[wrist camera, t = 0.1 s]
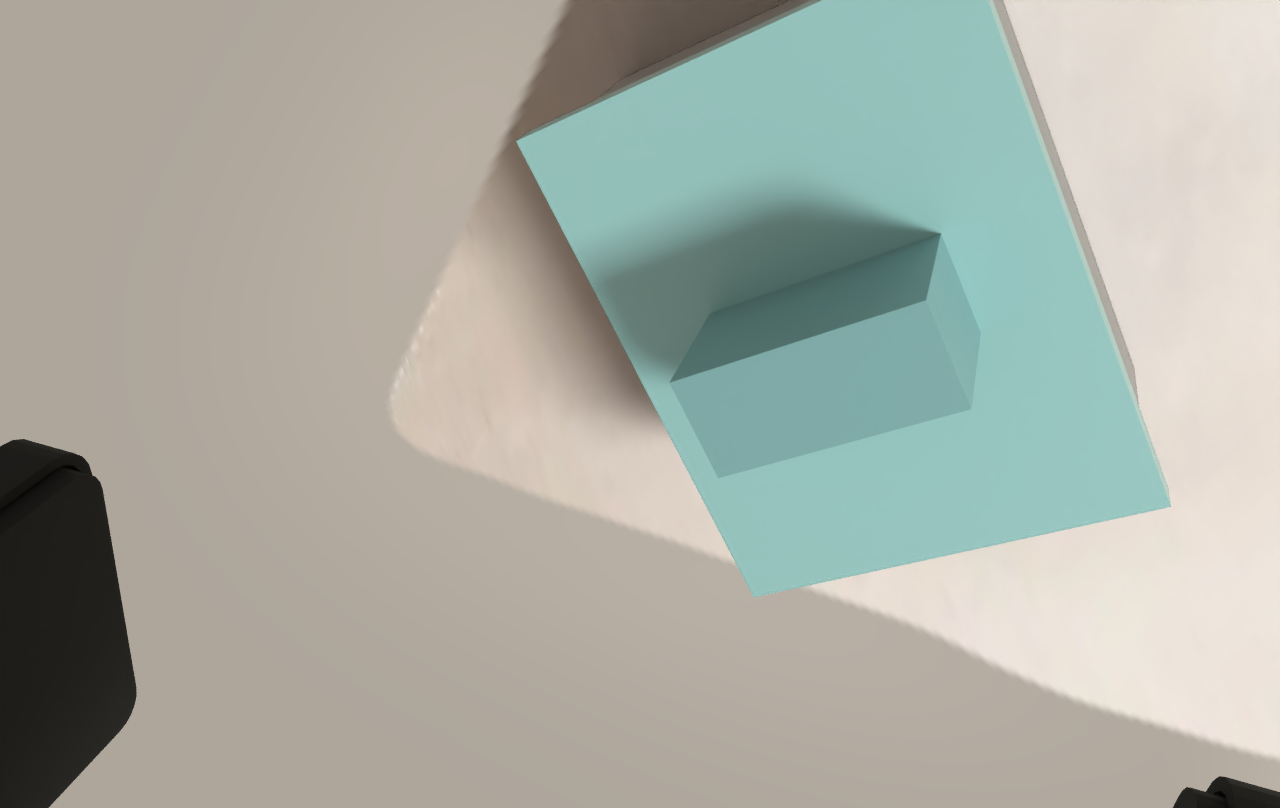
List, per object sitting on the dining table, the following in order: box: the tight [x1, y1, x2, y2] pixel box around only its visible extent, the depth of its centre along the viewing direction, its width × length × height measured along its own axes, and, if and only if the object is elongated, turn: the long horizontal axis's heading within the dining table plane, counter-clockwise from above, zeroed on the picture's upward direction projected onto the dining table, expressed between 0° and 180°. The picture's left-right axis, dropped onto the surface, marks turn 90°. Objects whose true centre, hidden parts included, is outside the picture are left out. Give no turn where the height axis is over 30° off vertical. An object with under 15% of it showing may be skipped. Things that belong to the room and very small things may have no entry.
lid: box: [516, 0, 1171, 597], centre depth 37 cm, size 19×15×8 cm
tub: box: [598, 0, 1139, 405], centre depth 43 cm, size 18×14×8 cm
